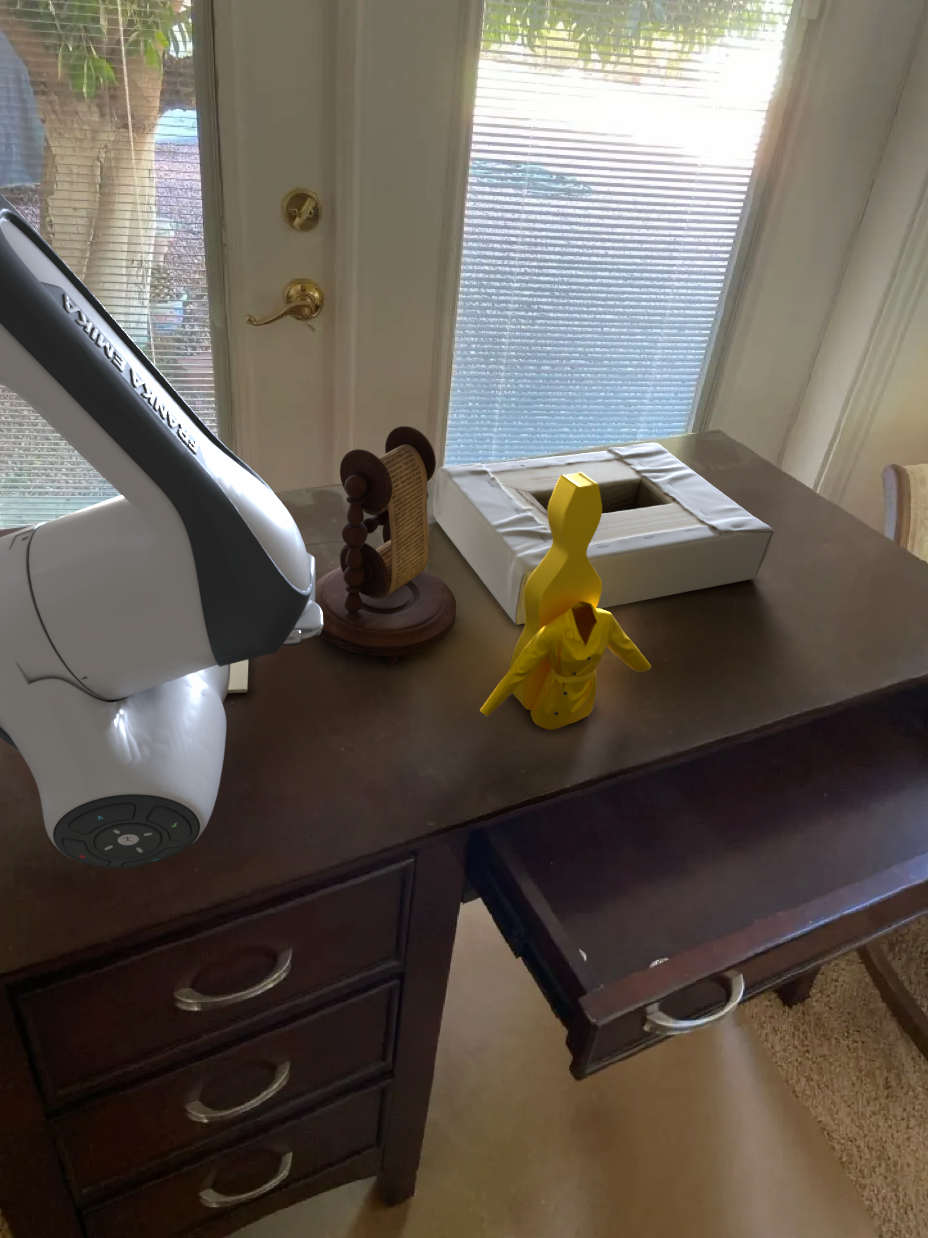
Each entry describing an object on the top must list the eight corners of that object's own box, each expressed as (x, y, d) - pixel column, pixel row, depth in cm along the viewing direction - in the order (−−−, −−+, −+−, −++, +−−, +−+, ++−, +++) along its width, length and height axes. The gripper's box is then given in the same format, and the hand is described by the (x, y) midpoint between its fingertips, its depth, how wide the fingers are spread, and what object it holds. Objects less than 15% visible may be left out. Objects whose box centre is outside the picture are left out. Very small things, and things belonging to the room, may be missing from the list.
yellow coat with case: (488, 757, 75) (522, 534, 62) (447, 700, 81) (470, 484, 68) (654, 706, 83) (716, 498, 70) (607, 657, 88) (655, 455, 75)
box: (516, 632, 90) (761, 580, 103) (525, 567, 86) (780, 521, 98) (428, 523, 107) (647, 490, 119) (432, 465, 103) (659, 436, 115)
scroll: (397, 689, 81) (409, 496, 70) (276, 627, 87) (268, 439, 75) (482, 616, 92) (505, 437, 80) (368, 565, 98) (374, 391, 86)
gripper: (324, 603, 57) (317, 499, 68) (-21, 609, 53) (30, 498, 64) (324, 678, 61) (317, 568, 72) (1, 689, 57) (46, 571, 68)
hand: (179, 535), depth 68 cm, fingers closed on rook chess piece, 3 cm apart
